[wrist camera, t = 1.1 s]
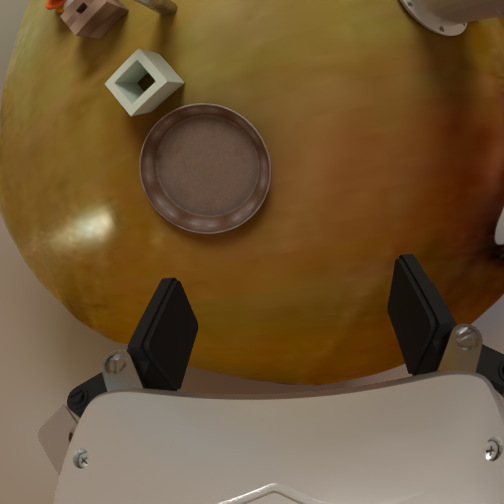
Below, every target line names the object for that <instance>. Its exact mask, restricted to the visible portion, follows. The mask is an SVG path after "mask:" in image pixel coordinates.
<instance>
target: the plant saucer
mask: <svg viewBox="0 0 504 504" xmlns="http://www.w3.org/2000/svg"><path fill="white" fill-rule="evenodd" d="M139 171H140V179H141V183H142V186H143V189H144V192H145V194H146V196H147V198H148V200H149V201H150V203H151V204H152V206H153V207H154V208H155V209H156V211H157V212H158V213H159V214H160V215H161V216H163V217H164V218H165V219H166V220H168V221H169V222H171V223H172V224H174V225H176V226H177V227H180V228H182V229H185V230H188V231H191V232H196V233H203V234H214V233H221V232H225V231H228V230H231V229H234V228H236V227H238V226H240V225H242V224H243V223H245V222H246V221H247V220H249V219H250V218H251V217H252V216H253V215H254V214H255V213H256V212H257V211H258V209H259V208H260V207H261V205H262V203H263V202H264V200H265V198H266V195H267V193H268V190H269V186H270V180H271V163H270V157H269V153H268V150H267V147H266V145H265V143H264V141H263V139H262V137H261V135H260V134H259V132H258V131H257V130H256V128H255V127H254V126H253V125H252V124H251V123H250V122H249V121H248V120H247V119H246V118H244V117H243V116H242V115H240V114H239V113H237V112H235V111H233V110H231V109H229V108H226V107H223V106H220V105H216V104H208V103H198V104H191V105H186V106H183V107H180V108H177V109H175V110H173V111H171V112H170V113H168V114H167V115H165V116H164V117H162V118H161V119H160V120H159V121H158V122H157V123H156V124H155V125H154V126H153V128H152V129H151V130H150V132H149V133H148V135H147V137H146V139H145V141H144V143H143V146H142V149H141V154H140V161H139Z"/></svg>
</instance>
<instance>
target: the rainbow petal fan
mask: <svg viewBox="0 0 504 504" xmlns="http://www.w3.org/2000/svg"><path fill="white" fill-rule="evenodd" d="M73 1H74V0H48V1H47V3H46V8H47V9H48V10H52V9H55V10H56V11H57V12H59V13H62V12H64V11H65V10H66V9H67V7H68V6H69V5H70V4H71V3H72V2H73Z"/></svg>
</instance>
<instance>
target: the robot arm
mask: <svg viewBox="0 0 504 504" xmlns="http://www.w3.org/2000/svg"><path fill="white" fill-rule="evenodd" d="M400 2H401V4H402V5H403V6H404V8H405V9H406V10H407V11H408V13H409V14H410V15H411V16H412V17H413V18H414V19H415V20H416V21H417V22H419V23H420V24H421V25H422V26H424V27H425V28H427V29H429V30H430V31H432V32H434V33H437V34H439V35H443V36H456V35H459V34H461V33H462V32H464V30H465V29H466V27H467V23H468V22H472V21H477V20H483V19H489V18H496V17H504V0H400ZM388 314H389V317H390V319H391V322H392V325H393V328H394V330H395V333H396V336H397V339H398V342H399V345H400V348H401V351H402V354H403V357H404V360H405V364H406V367H407V370H408V373H409V374H412V375H413V376H411V377H407V378H402V379H397V380H391V381H386V382H380V383H375V384H369V385H363V386H356V387H349V388H341V389H333V390H324V391H313V392H301V393H284V394H210V393H194V392H180V391H177V389H180V388H181V385H182V382H183V378H184V375H185V371H186V368H187V365H188V361H189V358H190V354H191V351H192V348H193V344H194V341H195V338H196V334H197V331H198V322H197V320H196V318H195V315H194V313H193V311H192V308H191V306H190V304H189V301H188V299H187V297H186V294H185V292H184V289H183V287H182V284H181V282H180V281H177V279H176V278H164V279H162V280H161V282H160V284H159V286H158V287H157V289H156V291H155V293H154V295H153V297H152V299H151V301H150V302H149V304H148V306H147V308H146V310H145V312H144V314H143V316H142V318H141V320H140V322H139V324H138V326H137V328H136V330H135V332H134V334H133V336H132V338H131V340H130V342H129V344H128V349H127V351H124V350H117V351H114V352H112V353H110V354H109V355H108V356H107V357H106V358H105V359H104V361H103V363H102V372H101V373H100V374H98V375H96V376H94V377H93V378H91V379H89V380H88V381H86V382H84V383H83V384H81V385H79V386H77V387H76V388H74V389H73V390H72V391H71V392H70V394H69V396H68V399H67V406H65V405H63V406H62V407H61V408H60V409H59V410H58V411H57V412H56V413H55V414H54V415H53V416H52V417H51V418H50V419H49V420H48V421H47V422H46V423H45V424H44V425H42V427H41V428H40V431H39V440H40V443H41V444H42V446H43V448H44V450H45V452H46V454H47V455H48V457H49V459H50V461H51V462H52V464H53V466H54V467H55V469H56V471H57V472H58V474H59V475H60V476H59V480H58V485H57V489H56V493H55V498H54V503H53V504H504V354H502V353H500V352H497V351H495V350H493V349H491V348H489V347H487V346H485V345H483V344H482V336H481V333H480V332H479V331H478V329H476V328H475V327H474V326H472V325H470V324H459V325H457V324H456V322H455V320H454V318H453V317H452V315H451V313H450V311H449V309H448V307H447V306H446V304H445V302H444V300H443V299H442V297H441V295H440V294H439V292H438V290H437V288H436V287H435V285H434V284H433V283H432V282H431V281H430V280H429V278H428V277H427V275H426V273H425V272H424V270H423V269H422V267H421V266H420V264H419V263H418V261H417V260H416V258H415V257H414V255H413V254H406V255H400V256H399V259H396V260H395V266H394V273H393V279H392V285H391V291H390V296H389V302H388Z"/></svg>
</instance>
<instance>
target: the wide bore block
mask: <svg viewBox="0 0 504 504" xmlns="http://www.w3.org/2000/svg"><path fill="white" fill-rule="evenodd" d="M147 73H149V74H150V75H151V76H152V77H153V78H154V80H155V81H156V82H155V83H154V84H152V85H151V86H150V87H149V88H148V89H147V90H146V91H145V92H144V91H143V90H142V88H141V87H140V86H139V85H138V84H137V83H138V82H139V81H140V80H141V79H142V78H143V77H144V76H145V75H146V74H147ZM183 84H184V82H183V80H182V79H181V78H180V77H179V76H178V75H177V73H176V72H175V71H174V70H173V69H172V68H171V66H170V65H169V64H168V63H167V62H166V61H165V60H164V58H163V57H162V56H161V55H160V54H158V53H155V52H151V51H147V50H143V49H140V48H139V49H138V50H137V51H136V52H135V53H134V54H133V55H132V56H131V57H130V58H129V59H128V60H127V61H126V62H125V63H124V64H123V65H122V66H121V67H120V68H119V69H118V70H117V71H116V72H115V73H114V74H113V75H112V76H111V77H110V79H109V80H108V81H107V82H106V83H105V85H106V86H107V87H108V88H109V90H110V91H111V92H112V93H113V95H114V96H115V97H116V98H117V100H118V101H119V102H120V103H121V105H122V106H123V107H124V108H125V110H126V111H127V112H128V113H129V115H130V116H134V115H139V114H144V113H149V112H152V111H154V110H155V109H156V108H157V107H158V106H159V105H160V104H161V103H162V102H163V101H164V100H166V99H167V98H168V97H169V96H170V95H171V94H172V93H174V92H175V91H176V90H177V89H178V88H180V87H181V86H182V85H183Z"/></svg>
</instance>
